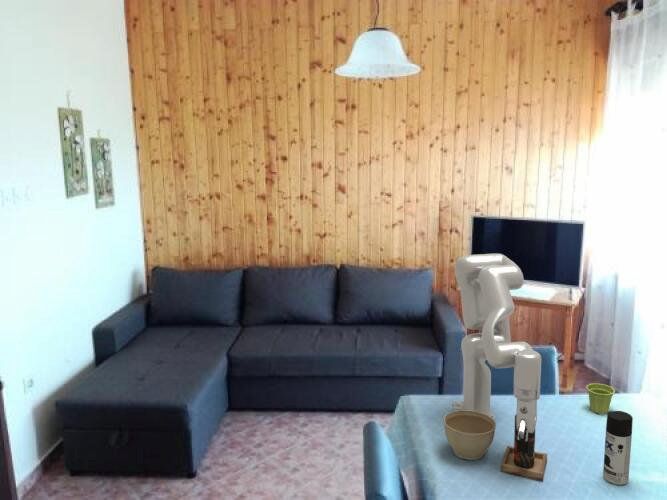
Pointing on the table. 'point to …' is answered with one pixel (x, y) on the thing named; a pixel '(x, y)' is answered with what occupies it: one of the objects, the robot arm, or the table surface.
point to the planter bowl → (469, 433)
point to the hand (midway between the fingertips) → (524, 444)
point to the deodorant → (524, 458)
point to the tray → (530, 473)
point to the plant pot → (600, 397)
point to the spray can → (617, 447)
